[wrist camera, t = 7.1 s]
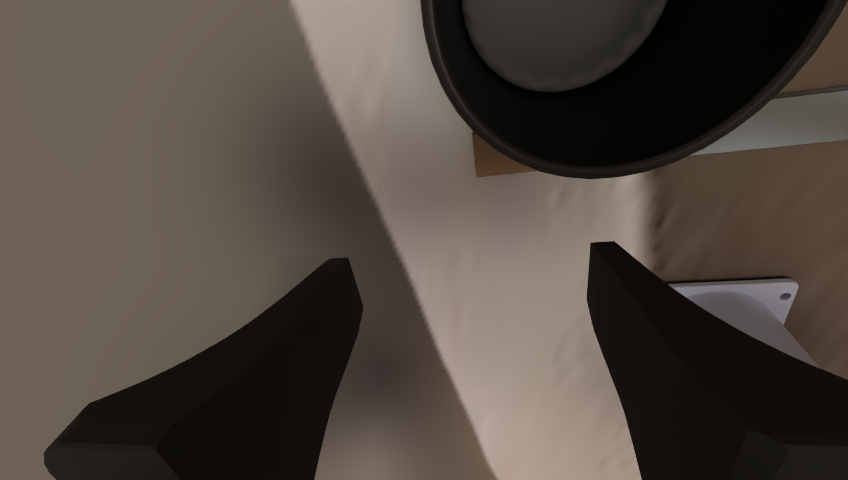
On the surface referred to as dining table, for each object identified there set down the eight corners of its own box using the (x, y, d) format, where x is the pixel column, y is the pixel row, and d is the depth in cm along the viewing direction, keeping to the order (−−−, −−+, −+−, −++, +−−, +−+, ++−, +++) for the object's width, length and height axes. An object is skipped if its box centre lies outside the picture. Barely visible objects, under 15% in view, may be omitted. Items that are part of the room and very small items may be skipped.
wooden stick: (1201, 97, 16) (1225, 101, 15) (477, 172, 21) (477, 176, 21) (1251, 36, 15) (1278, 38, 14) (472, 131, 20) (472, 135, 20)
